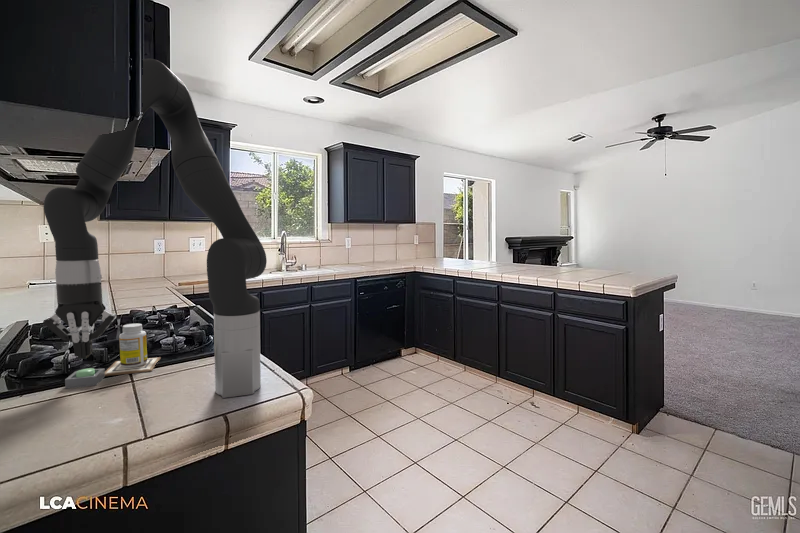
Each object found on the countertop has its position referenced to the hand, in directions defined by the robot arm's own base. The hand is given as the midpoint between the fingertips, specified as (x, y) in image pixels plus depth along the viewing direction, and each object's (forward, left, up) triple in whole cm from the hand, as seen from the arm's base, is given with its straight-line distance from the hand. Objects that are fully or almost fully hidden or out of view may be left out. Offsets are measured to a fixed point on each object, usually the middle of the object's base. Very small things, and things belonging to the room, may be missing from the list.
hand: (84, 357), depth 82 cm
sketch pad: (+9, -7, -6) cm, 12 cm away
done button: (+1, 0, -6) cm, 6 cm away
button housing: (+1, 0, -6) cm, 6 cm away
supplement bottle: (+9, -7, -6) cm, 13 cm away
